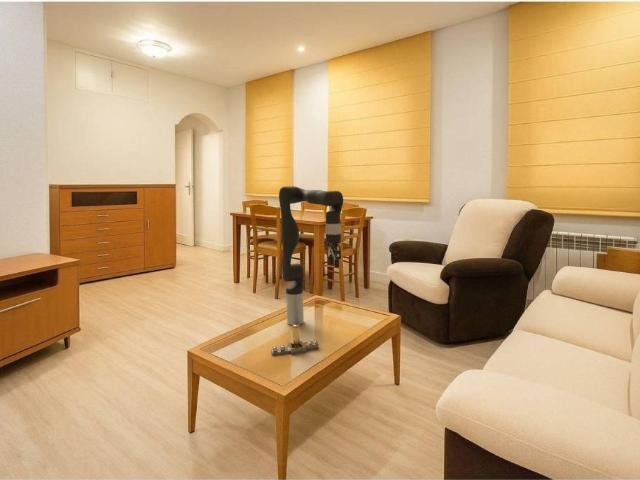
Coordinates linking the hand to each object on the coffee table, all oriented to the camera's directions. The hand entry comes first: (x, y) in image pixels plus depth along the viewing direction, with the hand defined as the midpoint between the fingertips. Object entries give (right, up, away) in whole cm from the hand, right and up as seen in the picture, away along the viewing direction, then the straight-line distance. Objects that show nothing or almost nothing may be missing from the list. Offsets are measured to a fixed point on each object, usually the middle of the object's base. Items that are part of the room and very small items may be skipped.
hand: (333, 265), depth 188 cm
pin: (-18, -38, -10) cm, 43 cm away
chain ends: (-18, -38, -10) cm, 43 cm away
